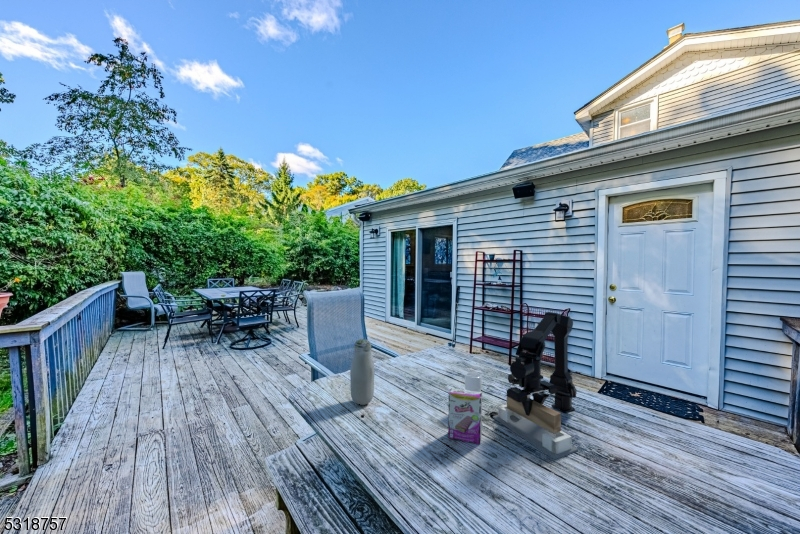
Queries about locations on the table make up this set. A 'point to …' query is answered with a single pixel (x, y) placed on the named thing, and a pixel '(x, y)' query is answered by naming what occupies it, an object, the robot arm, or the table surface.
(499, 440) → the table surface
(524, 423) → the end cap frame
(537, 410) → the wooden block
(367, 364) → the grey bottle
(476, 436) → the candy bar box
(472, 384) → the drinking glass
